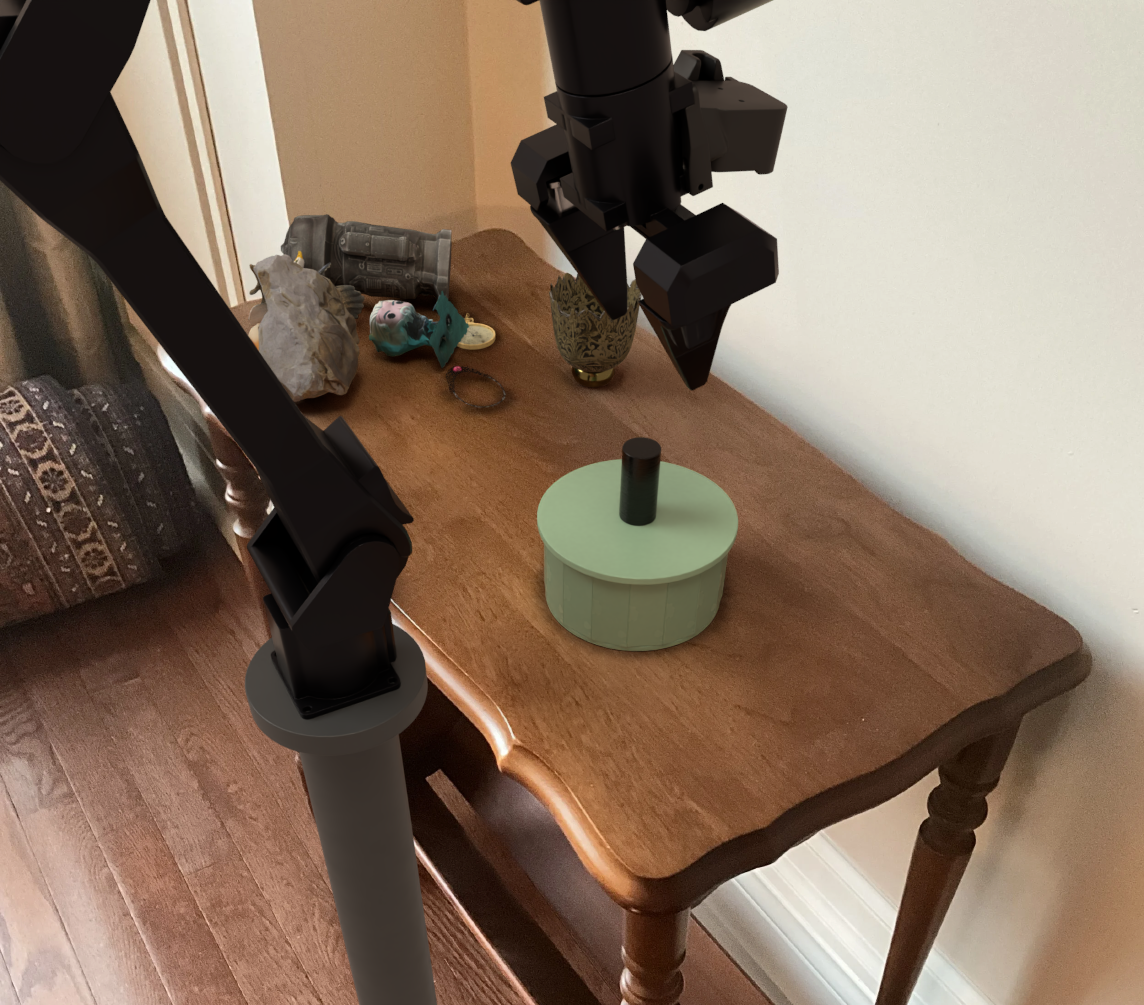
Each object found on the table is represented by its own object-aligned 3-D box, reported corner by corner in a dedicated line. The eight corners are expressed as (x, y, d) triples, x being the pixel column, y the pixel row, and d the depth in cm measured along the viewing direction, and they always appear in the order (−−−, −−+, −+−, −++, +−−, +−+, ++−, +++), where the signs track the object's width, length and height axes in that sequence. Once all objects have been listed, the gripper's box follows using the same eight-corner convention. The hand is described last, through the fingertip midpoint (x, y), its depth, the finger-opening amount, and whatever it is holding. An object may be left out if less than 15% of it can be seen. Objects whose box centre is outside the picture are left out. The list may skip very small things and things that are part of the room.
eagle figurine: (295, 245, 105) (373, 270, 102) (283, 326, 108) (359, 354, 105) (234, 234, 99) (316, 261, 95) (224, 321, 101) (302, 350, 98)
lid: (596, 616, 70) (599, 534, 66) (503, 503, 78) (500, 421, 73) (775, 556, 74) (790, 474, 70) (670, 453, 82) (677, 374, 77)
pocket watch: (499, 347, 103) (499, 342, 102) (455, 353, 102) (455, 347, 102) (486, 315, 106) (486, 309, 106) (443, 320, 106) (443, 314, 105)
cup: (531, 377, 99) (529, 285, 93) (594, 348, 102) (597, 258, 96) (590, 412, 95) (593, 319, 89) (654, 381, 99) (661, 289, 93)
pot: (597, 673, 74) (600, 601, 70) (515, 568, 82) (513, 497, 77) (754, 617, 78) (766, 546, 74) (662, 521, 85) (668, 451, 81)
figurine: (387, 276, 90) (310, 296, 93) (430, 390, 95) (355, 405, 98) (451, 230, 98) (379, 249, 101) (488, 336, 103) (418, 351, 106)
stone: (385, 405, 99) (349, 372, 89) (305, 431, 100) (260, 401, 90) (348, 275, 99) (308, 227, 89) (268, 303, 99) (220, 258, 89)
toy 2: (448, 315, 110) (285, 299, 108) (451, 251, 109) (288, 233, 107) (447, 289, 101) (271, 271, 100) (451, 219, 101) (274, 200, 99)
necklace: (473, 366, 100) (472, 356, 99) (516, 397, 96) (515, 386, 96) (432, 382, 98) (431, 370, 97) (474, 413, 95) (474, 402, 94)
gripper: (872, 60, 51) (868, 363, 64) (660, -43, 63) (692, 232, 75) (654, 160, 50) (693, 452, 62) (477, 37, 61) (540, 304, 73)
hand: (656, 349), depth 68 cm, fingers open, 9 cm apart
